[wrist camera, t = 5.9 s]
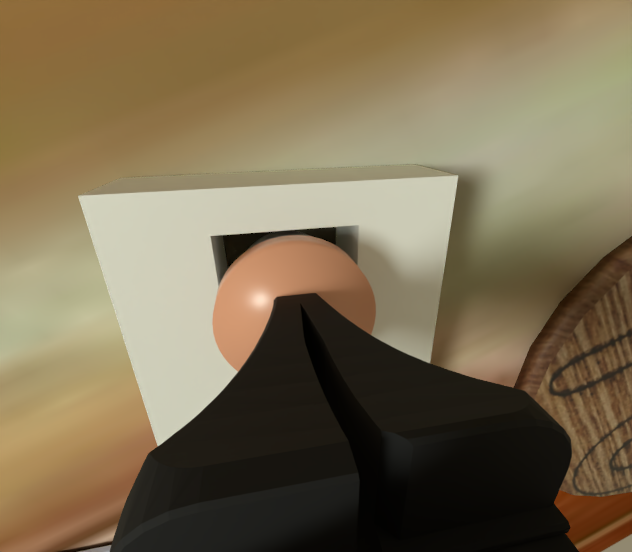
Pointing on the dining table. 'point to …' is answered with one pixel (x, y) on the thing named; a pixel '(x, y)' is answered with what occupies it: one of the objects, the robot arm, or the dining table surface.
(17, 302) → the dining table surface
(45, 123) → the dining table surface
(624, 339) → the trivet
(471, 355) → the dining table surface
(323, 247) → the button
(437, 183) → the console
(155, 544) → the robot arm
